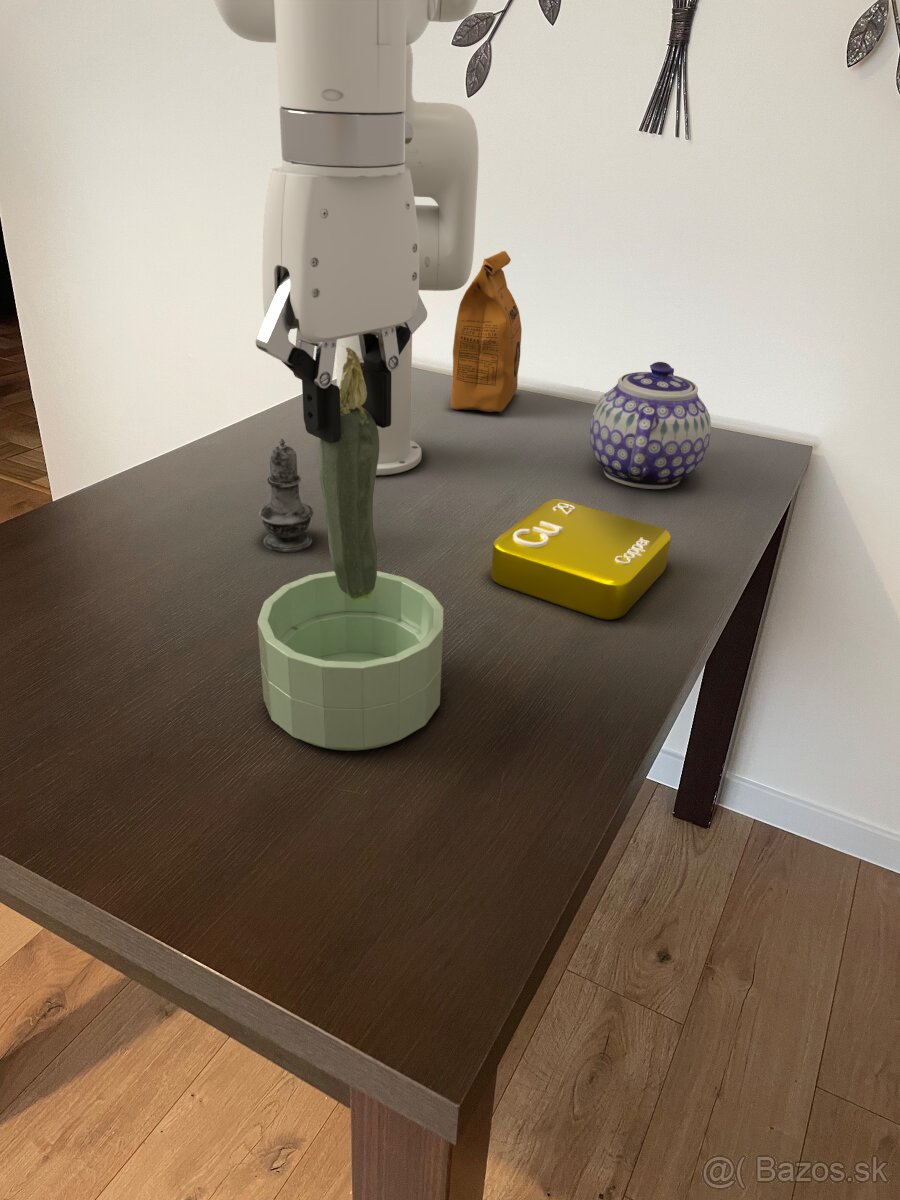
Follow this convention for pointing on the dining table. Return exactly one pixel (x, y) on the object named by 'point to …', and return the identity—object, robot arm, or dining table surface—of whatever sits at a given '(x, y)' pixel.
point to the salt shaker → (285, 504)
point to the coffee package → (486, 341)
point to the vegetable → (351, 487)
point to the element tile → (581, 558)
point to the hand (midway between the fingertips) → (348, 427)
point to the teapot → (650, 429)
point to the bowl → (351, 661)
